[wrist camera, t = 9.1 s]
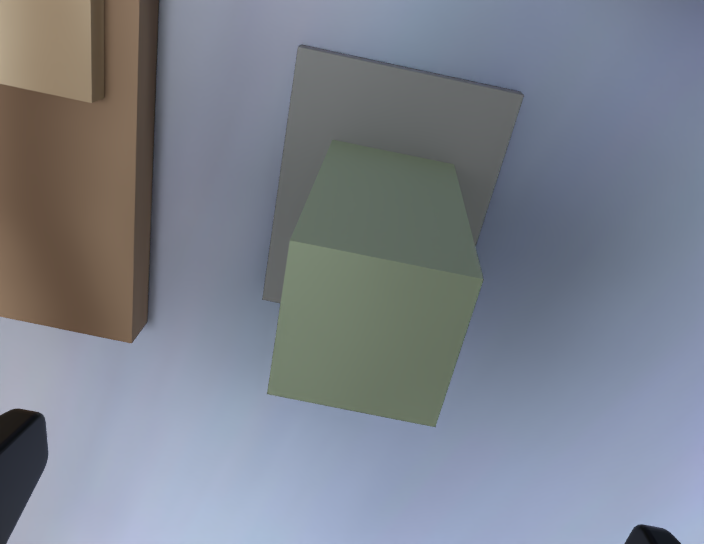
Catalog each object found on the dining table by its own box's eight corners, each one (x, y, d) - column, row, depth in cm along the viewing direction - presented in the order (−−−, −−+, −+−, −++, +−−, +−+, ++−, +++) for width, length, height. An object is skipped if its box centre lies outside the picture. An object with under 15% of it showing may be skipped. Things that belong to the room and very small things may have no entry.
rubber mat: (520, 91, 18) (523, 95, 18) (445, 328, 23) (446, 337, 22) (301, 44, 18) (297, 46, 18) (265, 291, 22) (262, 299, 22)
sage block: (453, 164, 19) (483, 279, 12) (424, 272, 21) (435, 427, 14) (332, 139, 19) (290, 240, 12) (313, 249, 21) (266, 394, 14)
